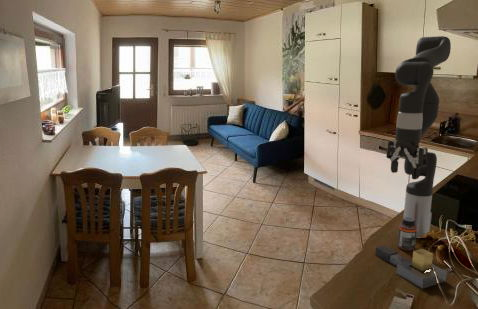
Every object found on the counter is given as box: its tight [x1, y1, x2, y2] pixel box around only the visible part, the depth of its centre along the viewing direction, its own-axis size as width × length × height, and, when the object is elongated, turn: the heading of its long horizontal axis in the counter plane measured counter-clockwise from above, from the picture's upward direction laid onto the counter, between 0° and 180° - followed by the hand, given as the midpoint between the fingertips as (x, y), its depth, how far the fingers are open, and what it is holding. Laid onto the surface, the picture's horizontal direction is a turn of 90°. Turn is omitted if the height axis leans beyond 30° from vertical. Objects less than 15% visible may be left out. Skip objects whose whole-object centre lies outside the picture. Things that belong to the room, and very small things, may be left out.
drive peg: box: [411, 248, 434, 274], centre depth 123 cm, size 4×4×8 cm
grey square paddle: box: [375, 244, 448, 289], centre depth 129 cm, size 10×22×3 cm, turn 24°
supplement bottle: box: [397, 216, 417, 252], centre depth 143 cm, size 6×6×11 cm
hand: (404, 175), depth 129 cm, fingers open, 8 cm apart
